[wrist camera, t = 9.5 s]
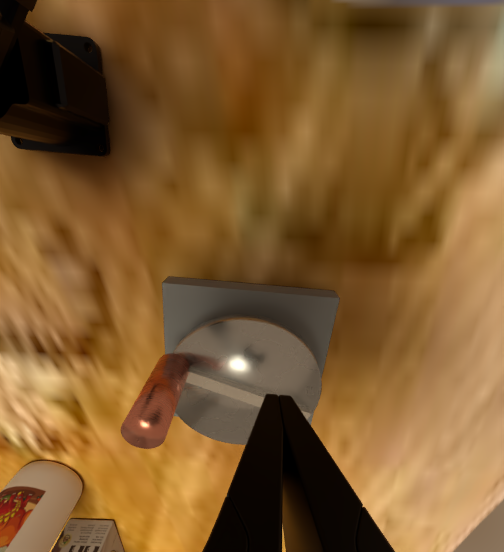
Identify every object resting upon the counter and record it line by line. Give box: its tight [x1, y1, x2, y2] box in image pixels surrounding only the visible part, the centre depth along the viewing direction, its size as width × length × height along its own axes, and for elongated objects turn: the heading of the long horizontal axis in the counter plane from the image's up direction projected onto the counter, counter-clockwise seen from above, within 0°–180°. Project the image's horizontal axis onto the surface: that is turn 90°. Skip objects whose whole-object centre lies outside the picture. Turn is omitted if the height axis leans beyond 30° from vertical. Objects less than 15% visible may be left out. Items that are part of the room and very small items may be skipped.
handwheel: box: [121, 314, 322, 449], centre depth 18 cm, size 13×12×8 cm
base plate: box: [162, 276, 340, 425], centre depth 22 cm, size 14×14×2 cm
